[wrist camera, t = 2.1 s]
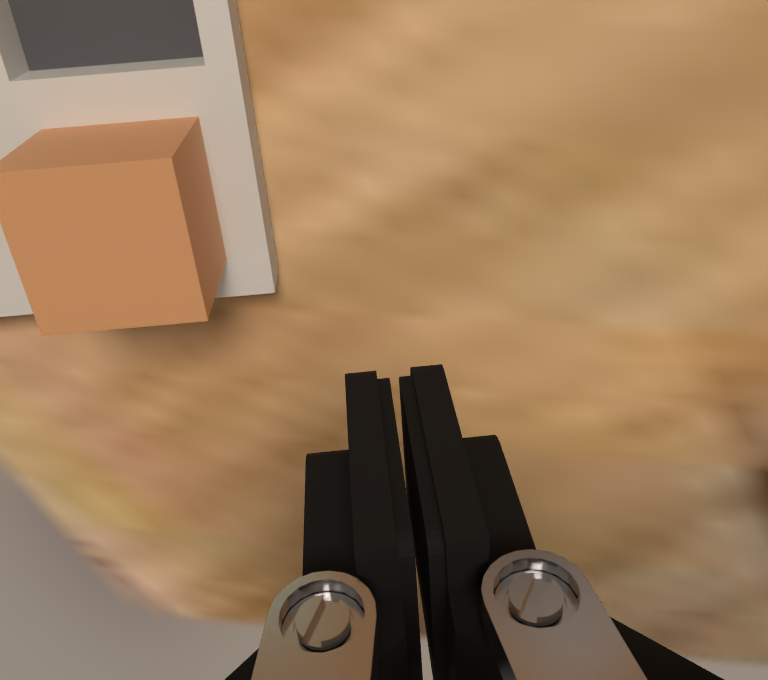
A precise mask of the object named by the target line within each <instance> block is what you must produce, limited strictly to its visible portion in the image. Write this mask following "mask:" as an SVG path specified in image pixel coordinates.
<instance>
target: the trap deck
mask: <svg viewBox="0 0 768 680" xmlns="http://www.w3.org/2000/svg"><path fill="white" fill-rule="evenodd" d="M195 116H199V121H200V126H201V131H202V136H203V141H204V146H205V151H206V156H207V161H208V166H209V171H210V176H211V182H212V187H213V192H214V197H215V202H216V207H217V212H218V217H219V222H220V227H221V232H222V237H223V242H224V247H225V253H226V258H227V260H226V263H225V267H224V270H223V273H222V276H221V280H220V283H219V286H218V290H217V293H216V296H215V298H222V297H233V296H245V295H256V294H267V293H275V290H276V283H277V276H278V270H279V269H278V263H277V256H276V250H275V244H274V237H273V231H272V225H271V218H270V212H269V206H268V199H267V193H266V187H265V180H264V174H263V168H262V161H261V155H260V149H259V142H258V136H257V129H256V123H255V117H254V110H253V104H252V98H251V91H250V85H249V79H248V72H247V66H246V60H245V53H244V47H243V41H242V34H241V28H240V22H239V15H238V9H237V3H236V0H0V160H1V159H2V158H4V157H5V156H6V155H8V154H9V153H10V152H12V151H13V150H14V149H16V148H17V147H18V146H20V145H21V144H22V143H24V142H25V141H26V140H28V139H29V138H30V137H32V136H33V135H34V134H36V133H37V132H38V131H40V130H41V129H51V128H63V127H75V126H87V125H99V124H111V123H123V122H135V121H147V120H159V119H171V118H183V117H195ZM28 314H33V312H32V309H31V306H30V303H29V301H28V298H27V295H26V293H25V290H24V287H23V284H22V282H21V279H20V276H19V273H18V271H17V268H16V265H15V262H14V260H13V257H12V254H11V252H10V249H9V246H8V243H7V241H6V238H5V235H4V232H3V230H2V227H1V224H0V317H5V316H17V315H28Z"/></svg>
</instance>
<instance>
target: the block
mask: <svg viewBox="0 0 768 680" xmlns="http://www.w3.org/2000/svg"><path fill="white" fill-rule="evenodd" d="M0 224H1V227H2V230H3V232H4V235H5V238H6V241H7V243H8V246H9V249H10V252H11V254H12V257H13V260H14V262H15V265H16V268H17V271H18V273H19V276H20V279H21V282H22V284H23V287H24V290H25V293H26V295H27V298H28V301H29V303H30V306H31V309H32V312H33V314H34V317H35V320H36V323H37V325H38V328H39V331H40V334H41V336H45V335H57V334H68V333H79V332H91V331H102V330H113V329H125V328H136V327H147V326H159V325H170V324H181V323H192V322H204V321H208V319H209V316H210V313H211V309H212V306H213V303H214V300H215V296H216V293H217V290H218V286H219V283H220V280H221V276H222V273H223V270H224V267H225V263H226V260H227V258H226V253H225V247H224V242H223V237H222V232H221V227H220V222H219V217H218V212H217V207H216V202H215V197H214V192H213V187H212V182H211V176H210V171H209V166H208V161H207V156H206V151H205V146H204V141H203V136H202V131H201V126H200V121H199V116H195V117H183V118H171V119H159V120H147V121H135V122H123V123H111V124H99V125H87V126H75V127H63V128H51V129H41V130H40V131H38V132H37V133H36V134H34V135H33V136H32V137H30V138H29V139H28V140H26V141H25V142H24V143H22V144H21V145H20V146H18V147H17V148H16V149H14V150H13V151H12V152H10V153H9V154H8V155H6V156H5V157H4V158H2V159H1V160H0Z"/></svg>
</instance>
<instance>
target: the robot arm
mask: <svg viewBox="0 0 768 680" xmlns="http://www.w3.org/2000/svg"><path fill="white" fill-rule="evenodd" d="M410 375H411V376H404V377H399V386H400V401H401V416H402V431H403V445H404V460H405V475H406V487H405V480H404V473H403V467H402V460H401V453H400V446H399V439H398V433H397V426H396V419H395V412H394V406H393V399H392V392H391V385H390V379H389V378H383V379H377V374H376V371H369V372H359V373H348V374H345V386H346V406H347V425H348V444H349V450H340V451H331V452H321V453H311V454H307V456H306V474H305V510H304V546H303V576H302V577H299V578H297V579H296V580H294V581H293V582H291V583H290V584H288V585H287V586H285V587H284V588H283V589H282V590H281V592H280V593H279V594H278V595H277V596H276V597H275V599H274V600H273V602H272V605H271V607H270V609H269V612H268V614H267V618H266V622H265V626H264V630H263V634H262V638H261V642H260V646H259V649H257V650H256V651H255V652H254V653H253V654H252V655H251V656H250V657H249V658H248V659H247V660H246V661H244V662H243V663H242V664H241V665H240V666H239V667H238V668H237V669H236V670H235V671H234V672H233V673H232V674H230V675H229V676H228V677H227V678H226V679H225V680H423V676H422V662H421V645H420V629H419V613H418V598H417V582H416V566H415V559H416V565H417V572H418V579H419V586H420V593H421V599H422V606H423V613H424V620H425V627H426V633H427V640H428V647H429V653H430V660H431V667H432V674H433V680H724V679H722V678H720V677H718V676H716V675H715V674H712V673H711V672H709V671H707V670H706V669H703V668H702V667H700V666H698V665H696V664H695V663H693V662H691V661H689V660H687V659H686V658H684V657H682V656H680V655H678V654H676V653H675V652H673V651H671V650H669V649H667V648H666V647H664V646H662V645H660V644H658V643H656V642H655V641H653V640H651V639H649V638H647V637H646V636H644V635H642V634H640V633H638V632H636V631H635V630H633V629H631V628H629V627H627V626H626V625H624V624H622V623H620V622H618V621H616V620H615V619H613V618H611V617H610V616H609V615H608V613H607V611H606V610H605V608H604V606H603V605H602V603H601V601H600V600H599V598H598V596H597V595H596V593H595V591H594V590H593V588H592V586H591V585H590V583H589V581H588V580H587V578H586V577H585V576H584V575H583V573H582V572H581V571H580V570H579V569H578V567H576V566H575V565H574V564H572V563H571V562H569V561H568V560H566V559H565V558H564V557H561V556H558V555H556V554H553V553H551V552H548V551H541V550H536V548H535V545H534V542H533V539H532V536H531V533H530V530H529V527H528V524H527V521H526V518H525V515H524V513H523V510H522V507H521V504H520V501H519V498H518V495H517V492H516V489H515V486H514V483H513V480H512V477H511V474H510V471H509V468H508V465H507V462H506V459H505V457H504V454H503V451H502V448H501V445H500V442H499V440H498V437H497V436H496V435H489V436H479V437H469V438H462V435H461V431H460V427H459V424H458V420H457V416H456V413H455V409H454V405H453V401H452V398H451V394H450V390H449V387H448V383H447V379H446V376H445V372H444V368H443V365H442V364H440V365H430V366H420V367H411V369H410ZM406 490H407V494H406ZM414 552H415V553H414Z"/></svg>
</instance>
